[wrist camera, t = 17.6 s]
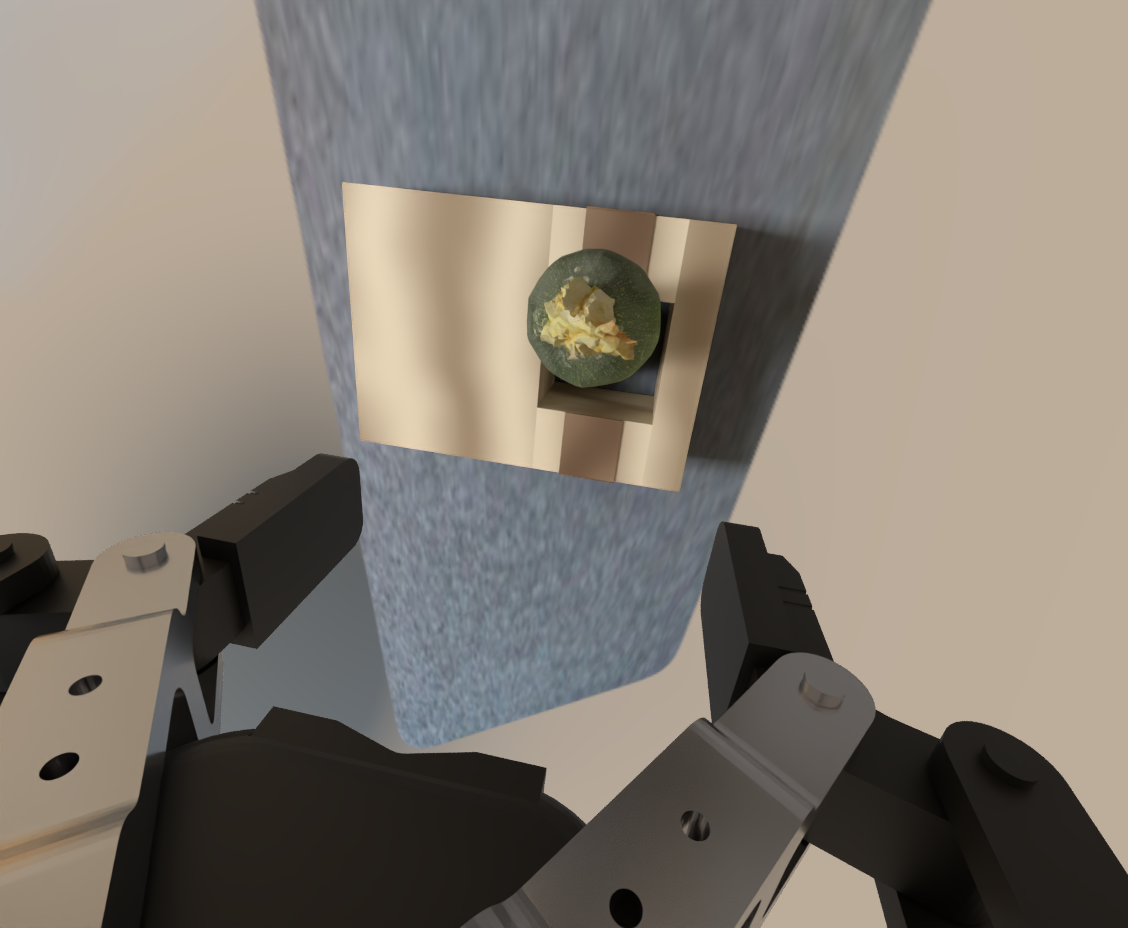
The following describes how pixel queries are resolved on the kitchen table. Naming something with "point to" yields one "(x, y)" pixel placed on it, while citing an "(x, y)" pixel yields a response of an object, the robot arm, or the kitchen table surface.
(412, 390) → the wooden block with hole
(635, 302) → the vegetable
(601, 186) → the kitchen table surface
